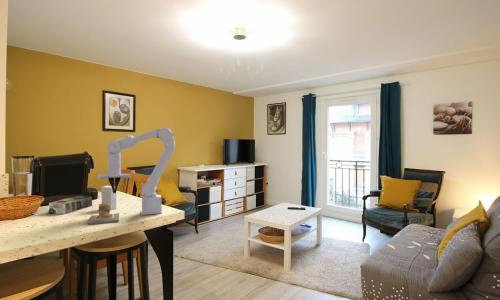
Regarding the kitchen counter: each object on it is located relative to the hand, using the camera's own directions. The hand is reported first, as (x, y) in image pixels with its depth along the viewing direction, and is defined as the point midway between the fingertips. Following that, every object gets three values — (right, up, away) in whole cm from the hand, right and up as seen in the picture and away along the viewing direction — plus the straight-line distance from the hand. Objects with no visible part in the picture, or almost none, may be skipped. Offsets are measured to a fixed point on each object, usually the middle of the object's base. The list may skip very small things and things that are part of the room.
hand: (114, 192), depth 141 cm
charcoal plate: (0, -11, -10) cm, 15 cm away
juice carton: (-27, -10, +8) cm, 30 cm away
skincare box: (-8, -10, +10) cm, 16 cm away
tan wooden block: (0, -10, -10) cm, 14 cm away
